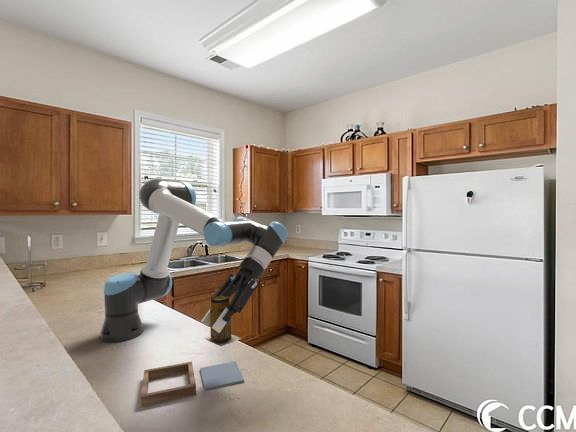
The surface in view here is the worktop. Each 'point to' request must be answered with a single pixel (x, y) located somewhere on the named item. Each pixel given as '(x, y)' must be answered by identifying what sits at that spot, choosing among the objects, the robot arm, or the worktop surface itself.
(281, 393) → the worktop surface
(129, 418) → the worktop surface
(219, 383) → the mat
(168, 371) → the pocket
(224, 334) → the condiment
